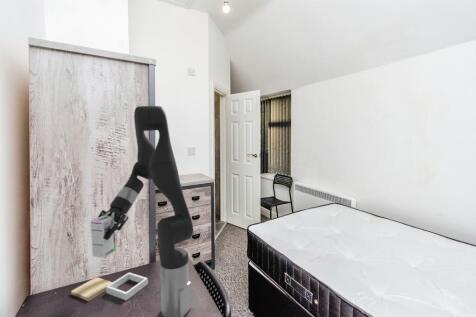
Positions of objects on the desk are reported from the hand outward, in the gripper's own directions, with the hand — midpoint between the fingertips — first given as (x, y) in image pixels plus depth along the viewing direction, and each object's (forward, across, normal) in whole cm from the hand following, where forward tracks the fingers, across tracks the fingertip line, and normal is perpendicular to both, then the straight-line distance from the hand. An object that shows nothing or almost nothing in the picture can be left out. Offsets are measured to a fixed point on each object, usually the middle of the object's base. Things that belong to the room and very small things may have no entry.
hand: (99, 237), depth 87 cm
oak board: (+16, -3, +14) cm, 22 cm away
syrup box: (+4, 0, +7) cm, 8 cm away
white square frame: (+12, +8, +19) cm, 24 cm away
